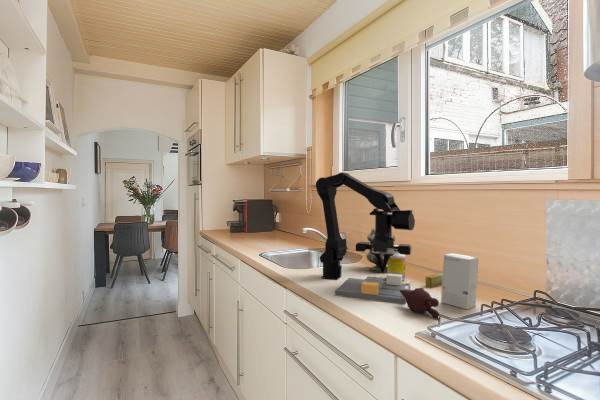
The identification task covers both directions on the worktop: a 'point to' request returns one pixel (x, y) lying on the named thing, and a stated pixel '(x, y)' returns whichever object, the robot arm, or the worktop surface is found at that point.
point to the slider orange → (370, 288)
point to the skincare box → (459, 280)
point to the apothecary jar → (372, 257)
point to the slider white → (394, 279)
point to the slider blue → (375, 280)
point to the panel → (385, 294)
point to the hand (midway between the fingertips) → (382, 272)
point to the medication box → (434, 280)
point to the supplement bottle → (397, 264)
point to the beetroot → (420, 301)
